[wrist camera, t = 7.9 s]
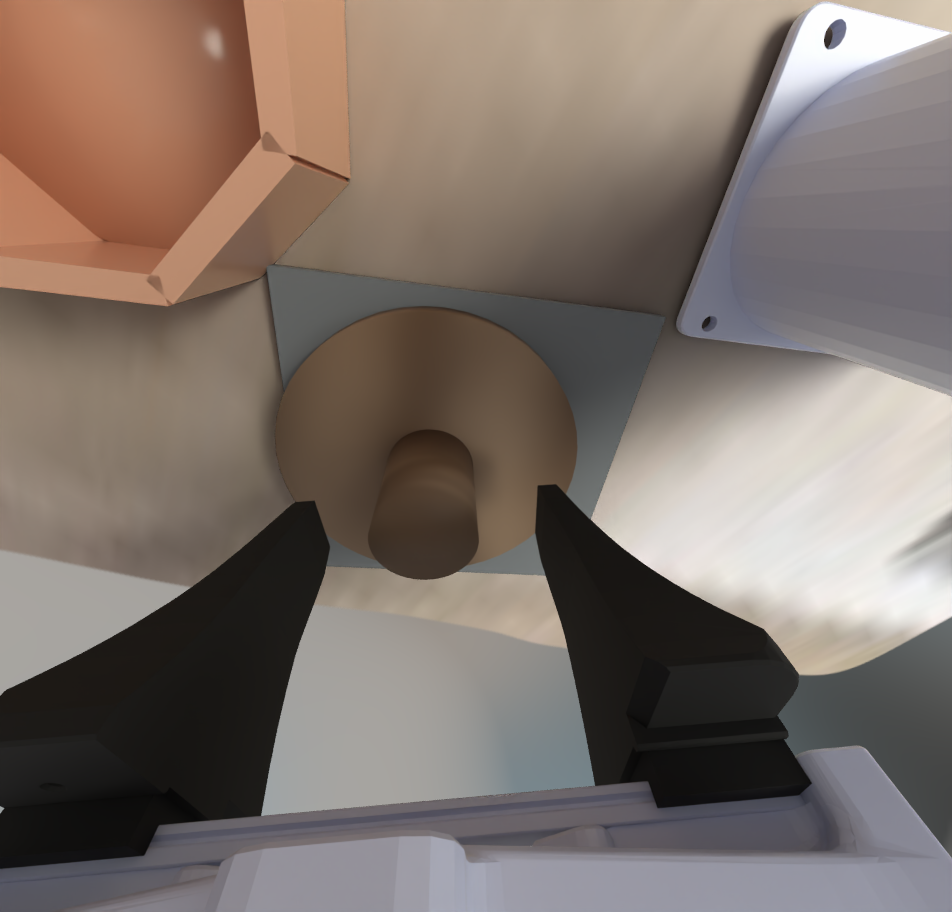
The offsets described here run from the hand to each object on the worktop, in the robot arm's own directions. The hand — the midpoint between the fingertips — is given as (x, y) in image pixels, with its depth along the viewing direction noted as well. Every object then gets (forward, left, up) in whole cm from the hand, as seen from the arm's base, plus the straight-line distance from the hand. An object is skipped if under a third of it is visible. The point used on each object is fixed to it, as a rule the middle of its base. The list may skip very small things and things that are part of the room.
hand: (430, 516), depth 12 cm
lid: (0, 0, -3) cm, 4 cm away
